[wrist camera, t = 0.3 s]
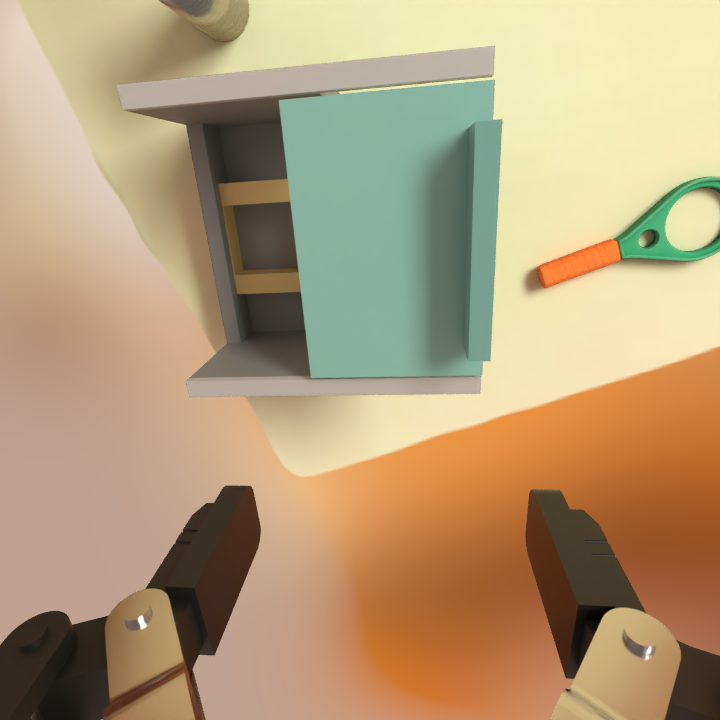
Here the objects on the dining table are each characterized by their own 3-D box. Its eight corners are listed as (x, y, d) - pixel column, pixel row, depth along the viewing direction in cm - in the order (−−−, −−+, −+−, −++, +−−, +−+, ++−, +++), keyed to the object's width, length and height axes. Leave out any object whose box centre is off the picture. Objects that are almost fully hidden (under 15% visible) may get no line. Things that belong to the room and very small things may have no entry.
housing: (202, 113, 35) (111, 85, 24) (466, 89, 32) (494, 45, 22) (242, 341, 42) (185, 396, 31) (461, 335, 39) (480, 393, 29)
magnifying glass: (734, 161, 33) (750, 160, 31) (743, 239, 35) (759, 242, 33) (527, 240, 36) (533, 243, 35) (546, 307, 38) (552, 313, 37)
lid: (282, 102, 24) (264, 91, 21) (492, 83, 23) (504, 68, 20) (313, 373, 30) (302, 395, 27) (480, 370, 29) (488, 393, 26)
